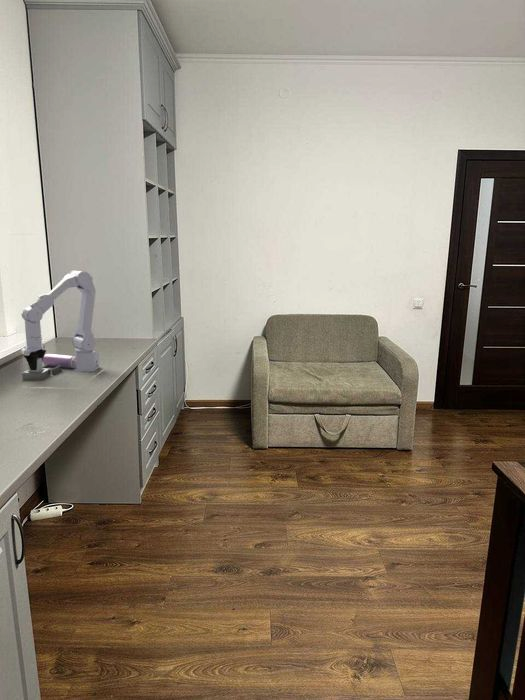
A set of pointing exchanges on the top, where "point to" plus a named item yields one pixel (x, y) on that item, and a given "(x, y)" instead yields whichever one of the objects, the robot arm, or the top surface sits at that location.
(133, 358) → the top surface
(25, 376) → the port
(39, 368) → the plug
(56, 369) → the holster
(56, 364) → the beverage can
